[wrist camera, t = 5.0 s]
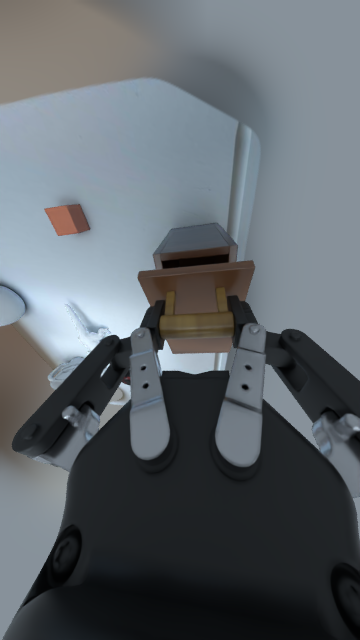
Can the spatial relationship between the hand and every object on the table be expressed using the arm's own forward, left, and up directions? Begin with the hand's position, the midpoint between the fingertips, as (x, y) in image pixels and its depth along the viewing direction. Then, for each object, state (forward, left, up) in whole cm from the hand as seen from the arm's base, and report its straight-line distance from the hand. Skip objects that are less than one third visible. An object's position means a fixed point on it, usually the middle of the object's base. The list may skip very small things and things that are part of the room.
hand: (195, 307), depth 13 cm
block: (-7, -22, -23) cm, 32 cm away
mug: (+35, -45, -23) cm, 62 cm away
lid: (+4, 0, -3) cm, 5 cm away
